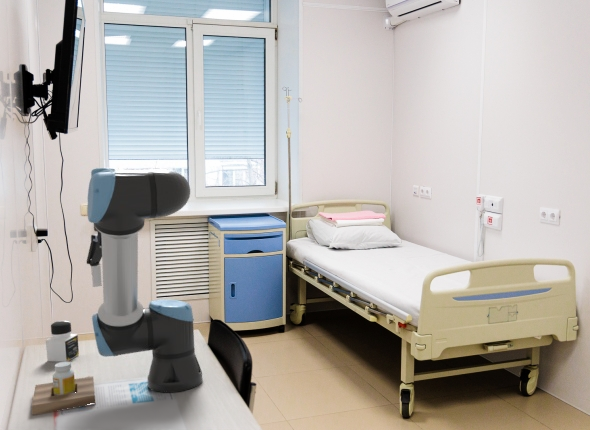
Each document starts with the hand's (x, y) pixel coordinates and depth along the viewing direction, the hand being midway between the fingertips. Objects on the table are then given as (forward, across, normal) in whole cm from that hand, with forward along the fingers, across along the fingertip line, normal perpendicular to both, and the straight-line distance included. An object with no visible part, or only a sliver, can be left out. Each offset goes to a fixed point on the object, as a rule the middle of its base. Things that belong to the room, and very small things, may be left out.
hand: (109, 286), depth 184 cm
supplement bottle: (+28, -11, +23) cm, 37 cm away
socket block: (+27, -11, +23) cm, 37 cm away
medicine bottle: (+23, +21, +4) cm, 32 cm away
